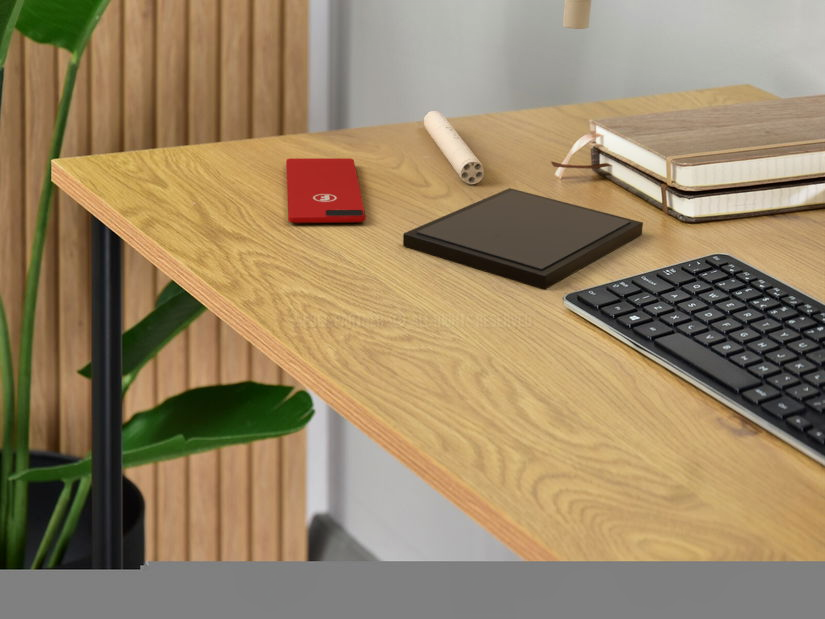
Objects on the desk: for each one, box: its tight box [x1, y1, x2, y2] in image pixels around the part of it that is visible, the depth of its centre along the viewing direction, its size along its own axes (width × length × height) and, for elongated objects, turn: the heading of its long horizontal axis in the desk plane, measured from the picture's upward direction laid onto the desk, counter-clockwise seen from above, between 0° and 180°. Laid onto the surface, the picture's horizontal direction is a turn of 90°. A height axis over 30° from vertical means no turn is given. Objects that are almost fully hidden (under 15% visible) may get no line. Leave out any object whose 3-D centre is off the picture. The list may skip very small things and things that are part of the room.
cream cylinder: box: [423, 110, 485, 185], centre depth 108 cm, size 18×2×2 cm, turn 11°
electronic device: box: [285, 157, 366, 224], centre depth 97 cm, size 6×1×15 cm
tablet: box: [402, 187, 644, 290], centre depth 89 cm, size 14×12×1 cm
